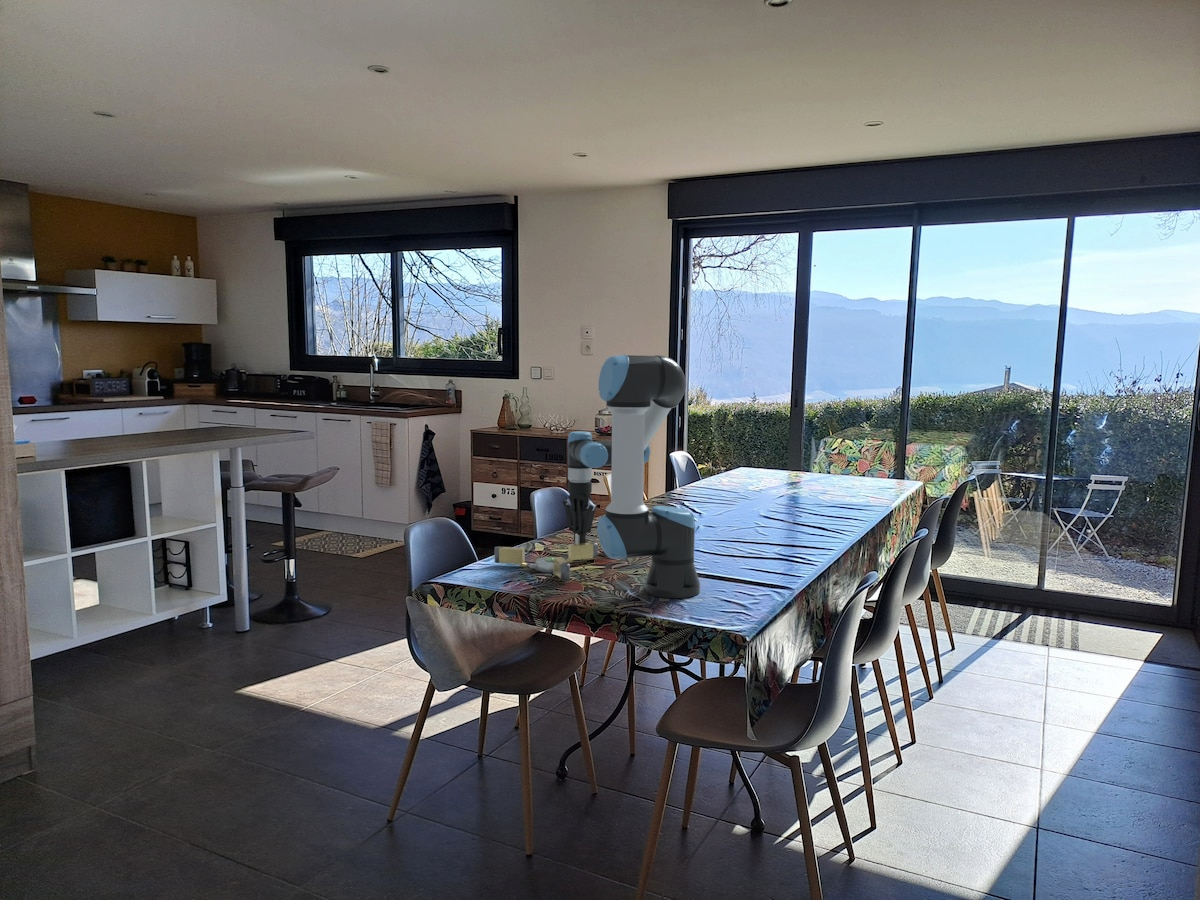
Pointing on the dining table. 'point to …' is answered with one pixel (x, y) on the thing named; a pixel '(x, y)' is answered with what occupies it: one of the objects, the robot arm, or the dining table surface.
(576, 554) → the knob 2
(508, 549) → the yellow and grey block
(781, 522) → the dining table surface
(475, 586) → the dining table surface
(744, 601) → the dining table surface
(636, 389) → the robot arm
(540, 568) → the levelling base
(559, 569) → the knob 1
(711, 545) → the dining table surface
